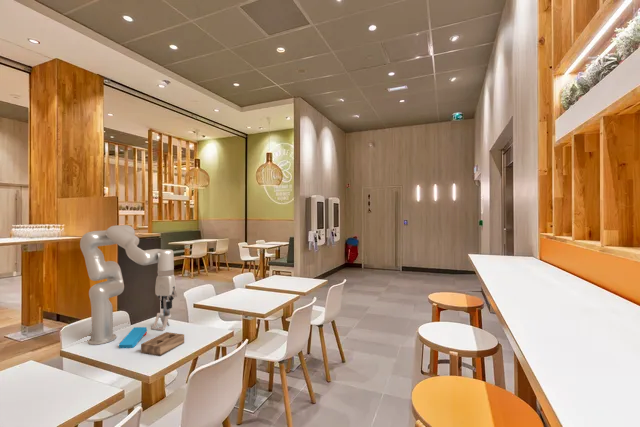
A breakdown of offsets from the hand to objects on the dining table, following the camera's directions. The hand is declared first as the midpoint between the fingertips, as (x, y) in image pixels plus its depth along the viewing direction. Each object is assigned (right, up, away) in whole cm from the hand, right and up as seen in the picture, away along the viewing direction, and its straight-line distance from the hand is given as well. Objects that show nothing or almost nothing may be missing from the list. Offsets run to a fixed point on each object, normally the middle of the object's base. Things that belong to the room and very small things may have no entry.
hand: (166, 308), depth 161 cm
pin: (0, -4, 0) cm, 4 cm away
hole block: (0, -19, -3) cm, 20 cm away
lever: (-20, -20, +6) cm, 29 cm away
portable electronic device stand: (-15, -20, +25) cm, 36 cm away
